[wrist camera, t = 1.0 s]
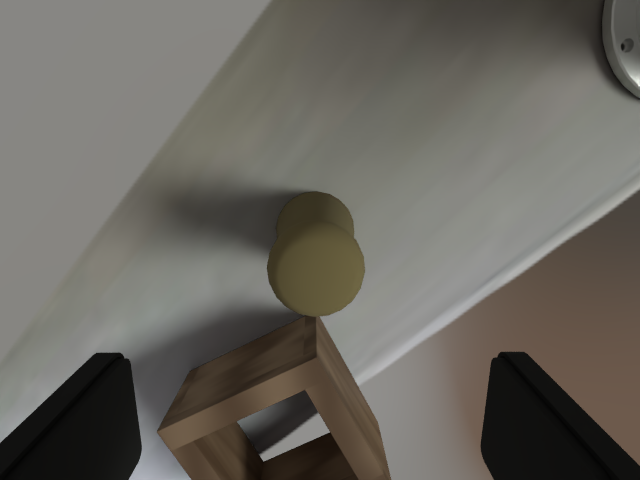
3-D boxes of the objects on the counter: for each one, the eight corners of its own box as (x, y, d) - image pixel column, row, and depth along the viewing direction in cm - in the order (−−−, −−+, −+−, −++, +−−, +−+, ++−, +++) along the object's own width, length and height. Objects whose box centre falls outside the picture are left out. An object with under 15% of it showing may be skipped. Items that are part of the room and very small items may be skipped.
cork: (362, 256, 30) (389, 318, 19) (288, 276, 30) (275, 347, 19) (343, 182, 28) (361, 203, 18) (266, 203, 29) (238, 237, 18)
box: (316, 310, 31) (316, 357, 24) (377, 421, 34) (394, 492, 27) (189, 371, 32) (156, 431, 25) (259, 474, 35) (245, 553, 28)
